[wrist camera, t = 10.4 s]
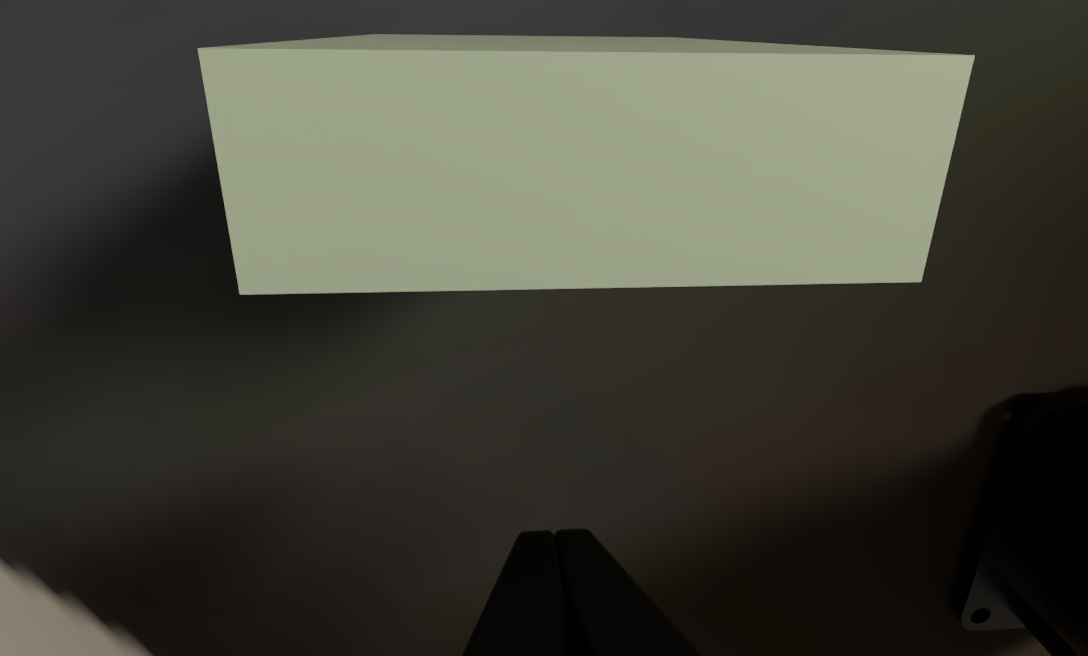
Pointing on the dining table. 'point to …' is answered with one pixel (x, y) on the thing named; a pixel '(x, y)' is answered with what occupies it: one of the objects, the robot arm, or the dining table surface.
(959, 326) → the dining table surface
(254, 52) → the tile
